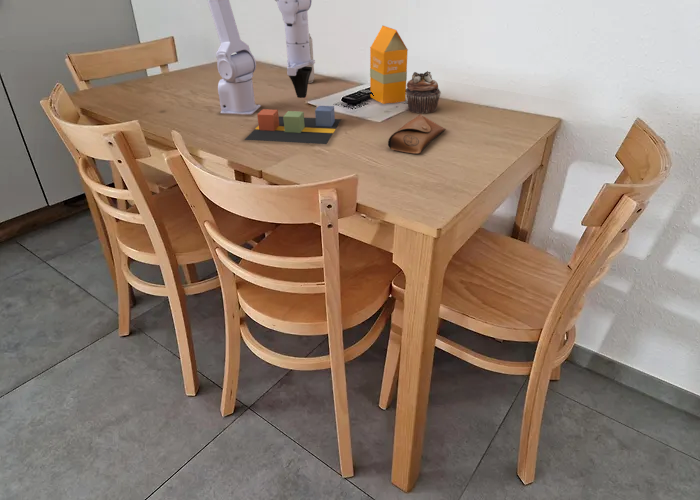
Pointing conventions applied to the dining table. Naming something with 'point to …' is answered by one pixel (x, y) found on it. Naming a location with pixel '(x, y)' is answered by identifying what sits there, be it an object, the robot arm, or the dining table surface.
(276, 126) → the terracotta block
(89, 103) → the dining table surface
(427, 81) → the cupcake
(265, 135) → the line mat
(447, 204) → the dining table surface
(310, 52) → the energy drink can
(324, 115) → the blue block
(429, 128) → the sunglasses case
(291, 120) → the sage block
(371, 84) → the orange juice
